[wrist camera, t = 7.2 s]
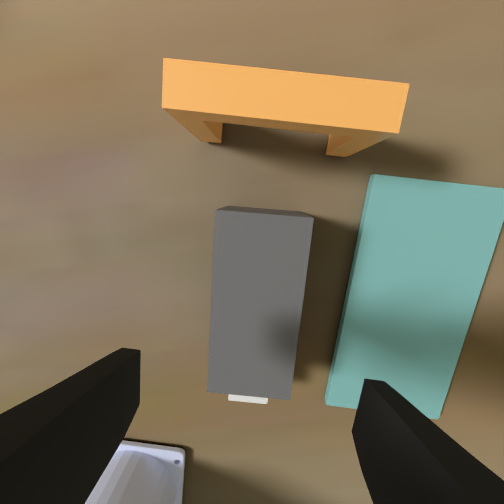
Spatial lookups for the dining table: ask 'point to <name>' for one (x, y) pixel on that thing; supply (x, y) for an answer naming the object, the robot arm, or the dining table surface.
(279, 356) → the grey box
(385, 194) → the mat
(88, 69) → the dining table surface
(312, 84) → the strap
